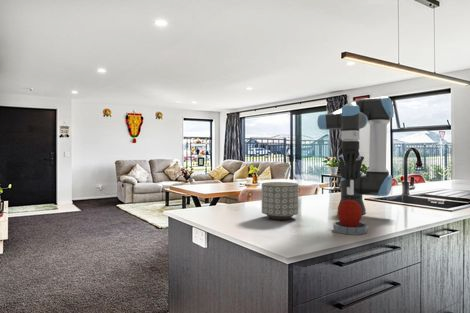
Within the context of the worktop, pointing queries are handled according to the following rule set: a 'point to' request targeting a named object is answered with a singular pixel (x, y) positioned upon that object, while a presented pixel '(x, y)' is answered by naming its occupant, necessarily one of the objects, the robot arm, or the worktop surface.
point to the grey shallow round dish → (350, 229)
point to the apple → (349, 213)
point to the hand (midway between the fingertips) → (350, 194)
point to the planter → (280, 200)
